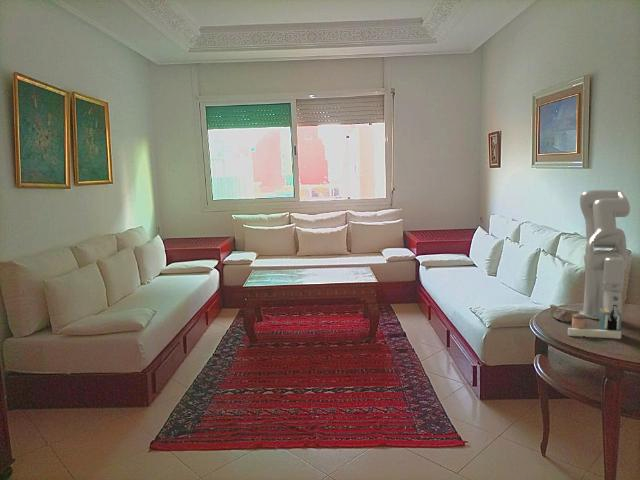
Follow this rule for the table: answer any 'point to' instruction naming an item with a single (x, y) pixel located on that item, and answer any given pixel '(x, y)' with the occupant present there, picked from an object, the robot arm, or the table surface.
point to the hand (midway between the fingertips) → (609, 326)
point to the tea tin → (604, 320)
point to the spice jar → (578, 321)
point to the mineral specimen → (562, 313)
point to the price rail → (594, 333)
